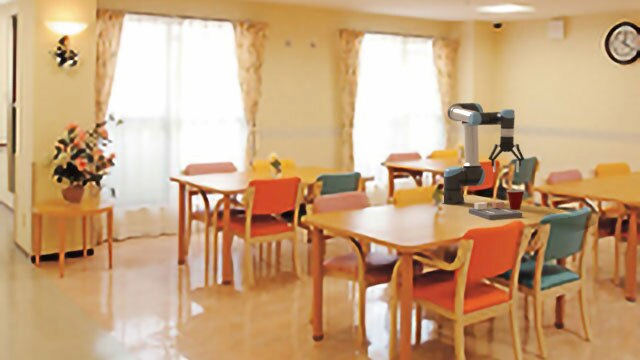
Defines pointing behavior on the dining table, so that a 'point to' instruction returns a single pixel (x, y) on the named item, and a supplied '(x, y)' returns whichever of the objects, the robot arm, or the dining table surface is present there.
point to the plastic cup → (515, 198)
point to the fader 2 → (498, 204)
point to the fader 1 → (480, 205)
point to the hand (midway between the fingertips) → (505, 172)
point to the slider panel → (495, 213)
